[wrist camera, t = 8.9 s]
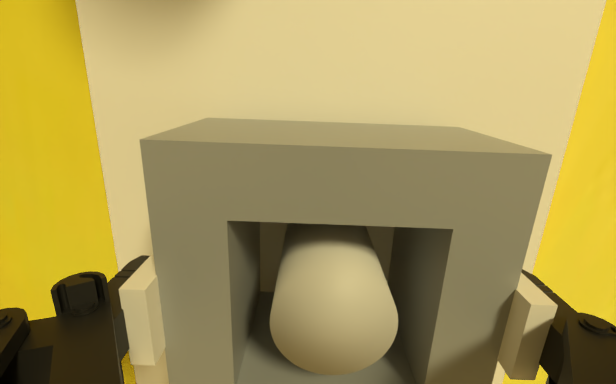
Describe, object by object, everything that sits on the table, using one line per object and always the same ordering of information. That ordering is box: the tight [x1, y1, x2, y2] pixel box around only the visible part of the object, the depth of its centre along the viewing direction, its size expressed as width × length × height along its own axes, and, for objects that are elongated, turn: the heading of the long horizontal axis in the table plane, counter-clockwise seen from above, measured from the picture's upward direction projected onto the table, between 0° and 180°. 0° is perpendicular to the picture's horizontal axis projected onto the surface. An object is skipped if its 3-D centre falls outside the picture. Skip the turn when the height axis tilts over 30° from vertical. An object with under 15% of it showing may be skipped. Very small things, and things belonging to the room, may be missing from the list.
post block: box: [75, 0, 606, 384], centre depth 14 cm, size 22×22×8 cm
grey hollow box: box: [139, 118, 552, 384], centre depth 14 cm, size 15×11×6 cm
